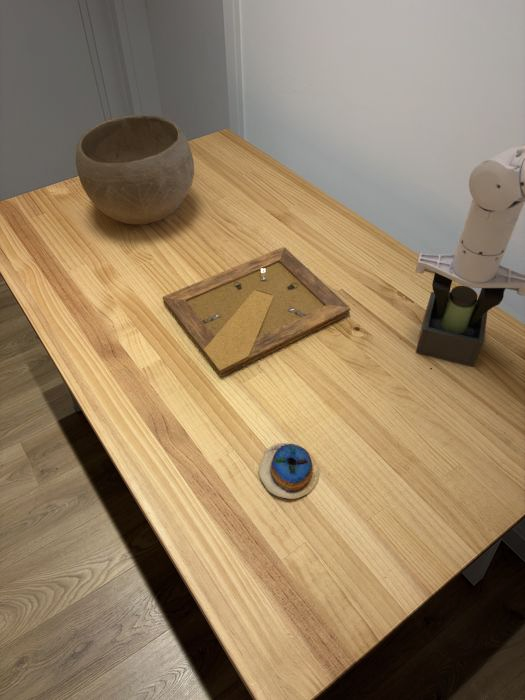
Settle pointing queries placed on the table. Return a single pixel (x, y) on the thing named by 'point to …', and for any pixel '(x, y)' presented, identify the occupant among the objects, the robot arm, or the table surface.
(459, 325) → the green lidded canister
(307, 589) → the table surface
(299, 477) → the dessert
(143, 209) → the bowl
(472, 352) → the bin
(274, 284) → the picture frame
